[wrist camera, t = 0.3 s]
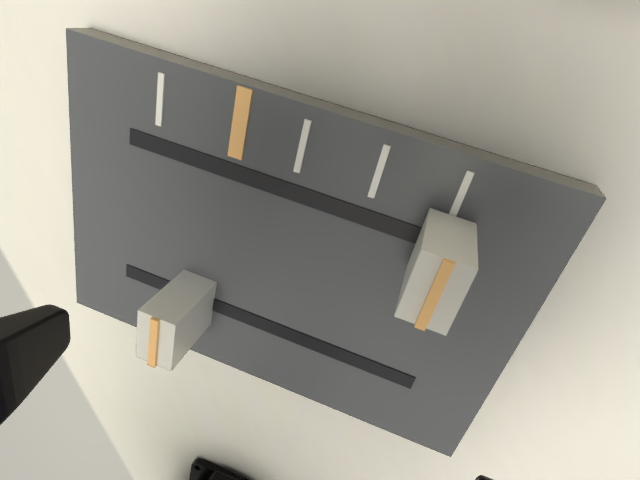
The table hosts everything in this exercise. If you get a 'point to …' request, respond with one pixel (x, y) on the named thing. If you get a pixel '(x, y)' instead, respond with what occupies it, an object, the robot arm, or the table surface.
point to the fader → (439, 272)
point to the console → (300, 235)
